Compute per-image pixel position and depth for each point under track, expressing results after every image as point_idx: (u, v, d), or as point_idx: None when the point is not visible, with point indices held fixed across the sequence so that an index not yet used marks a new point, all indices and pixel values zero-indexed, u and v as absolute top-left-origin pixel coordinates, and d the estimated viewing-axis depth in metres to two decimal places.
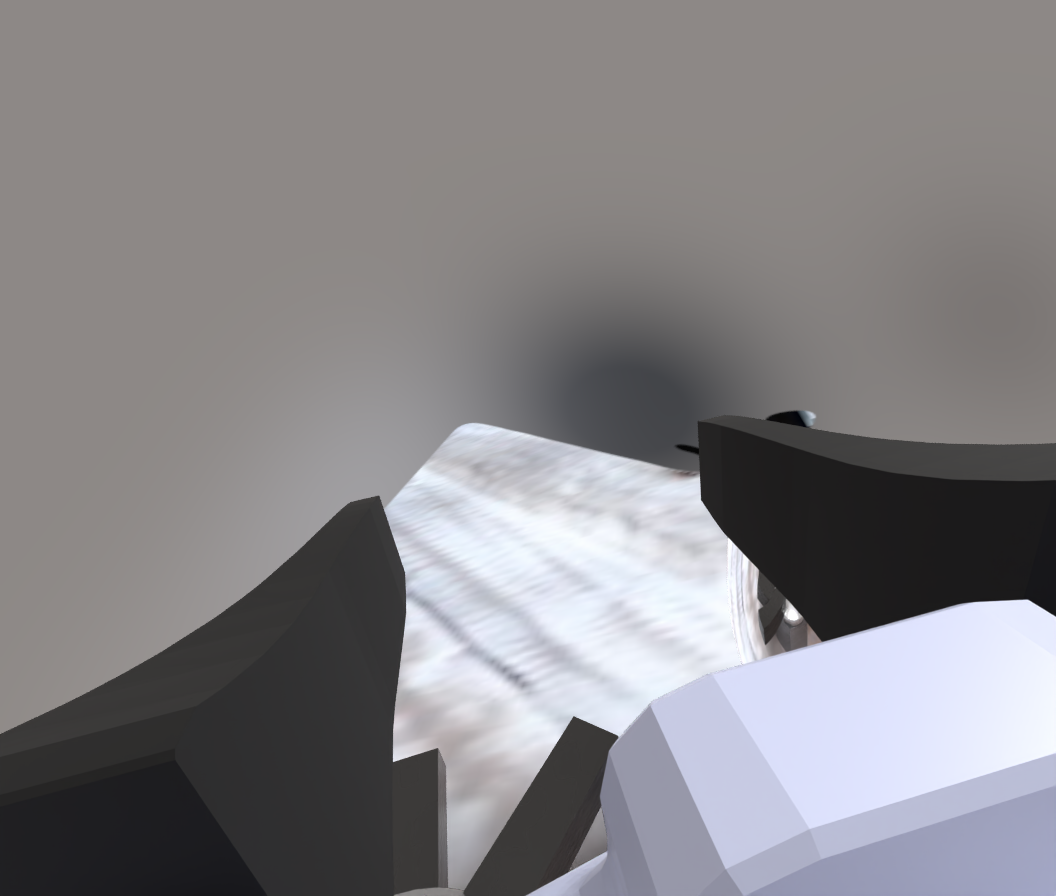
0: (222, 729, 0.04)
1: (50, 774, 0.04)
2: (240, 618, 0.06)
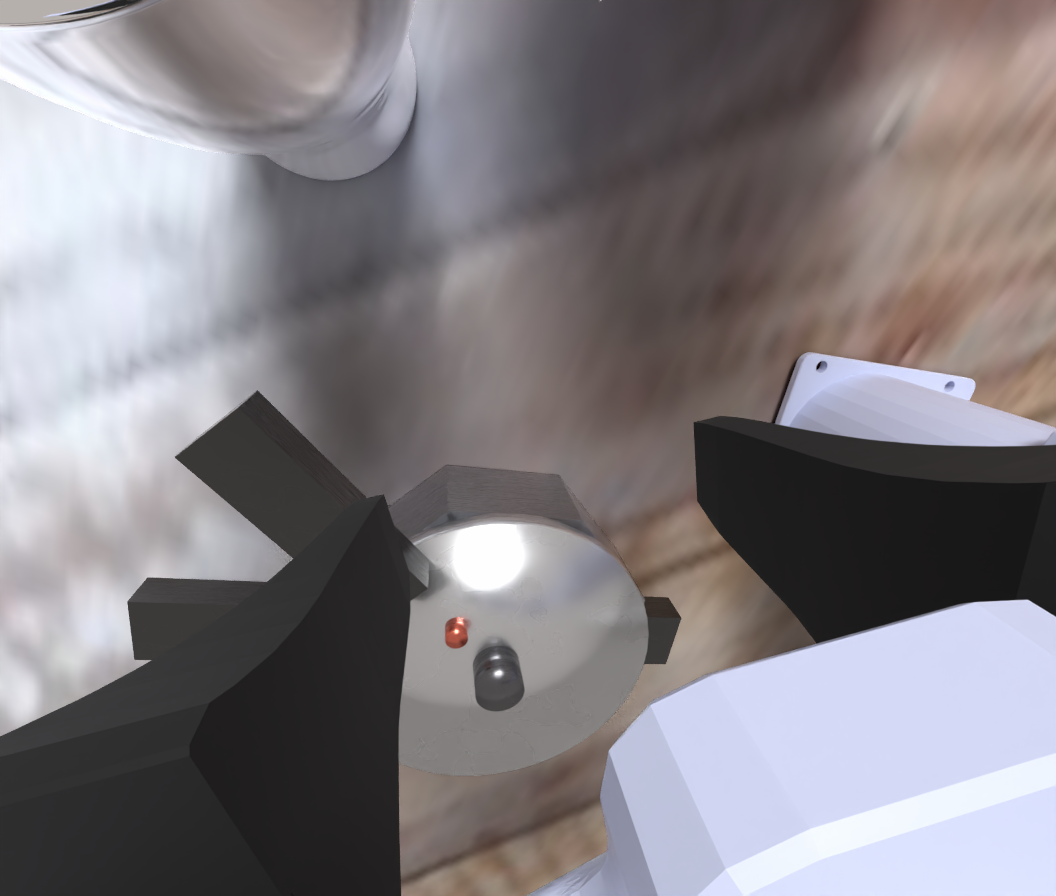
0: (234, 726, 0.04)
1: (64, 770, 0.04)
2: (248, 616, 0.06)
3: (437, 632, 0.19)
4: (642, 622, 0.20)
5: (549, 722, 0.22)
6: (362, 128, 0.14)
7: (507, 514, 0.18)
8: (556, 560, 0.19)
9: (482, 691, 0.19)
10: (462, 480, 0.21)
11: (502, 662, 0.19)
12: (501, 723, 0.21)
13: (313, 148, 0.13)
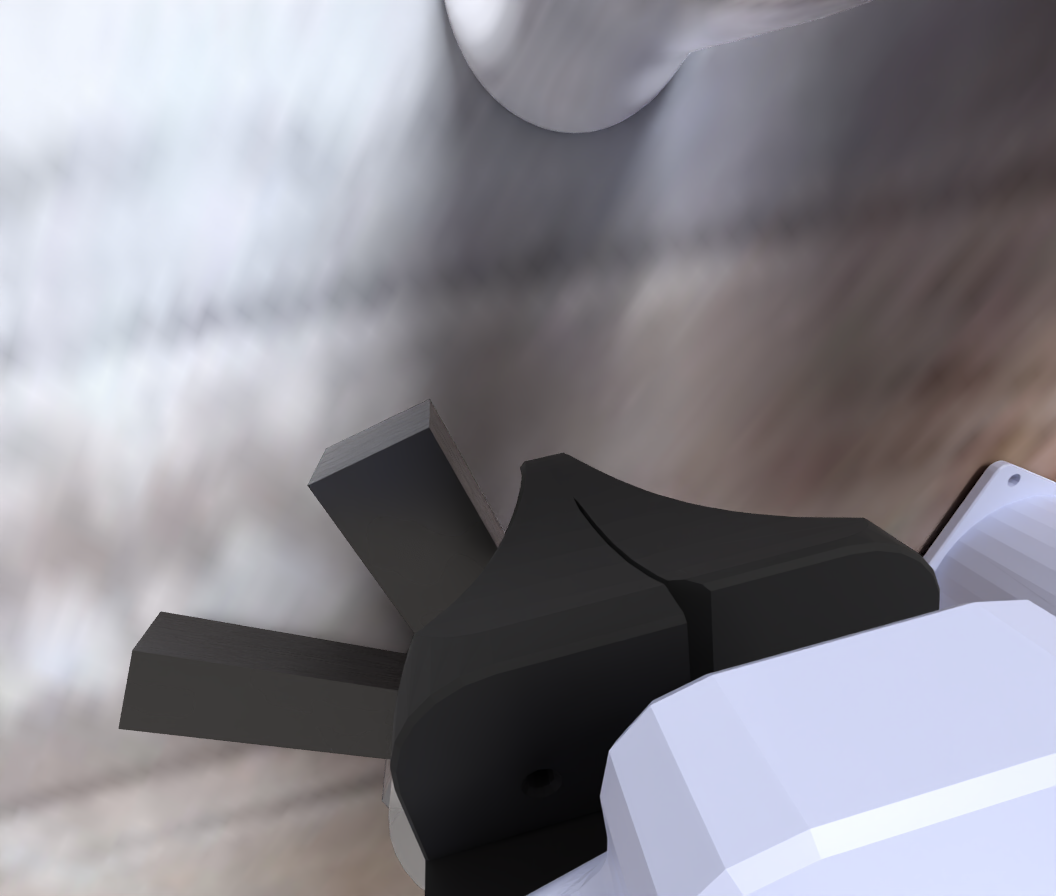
0: None
1: (567, 637, 0.04)
2: (534, 546, 0.07)
3: None
4: None
5: None
6: (683, 55, 0.09)
7: None
8: None
9: None
10: None
11: None
12: None
13: (617, 64, 0.09)
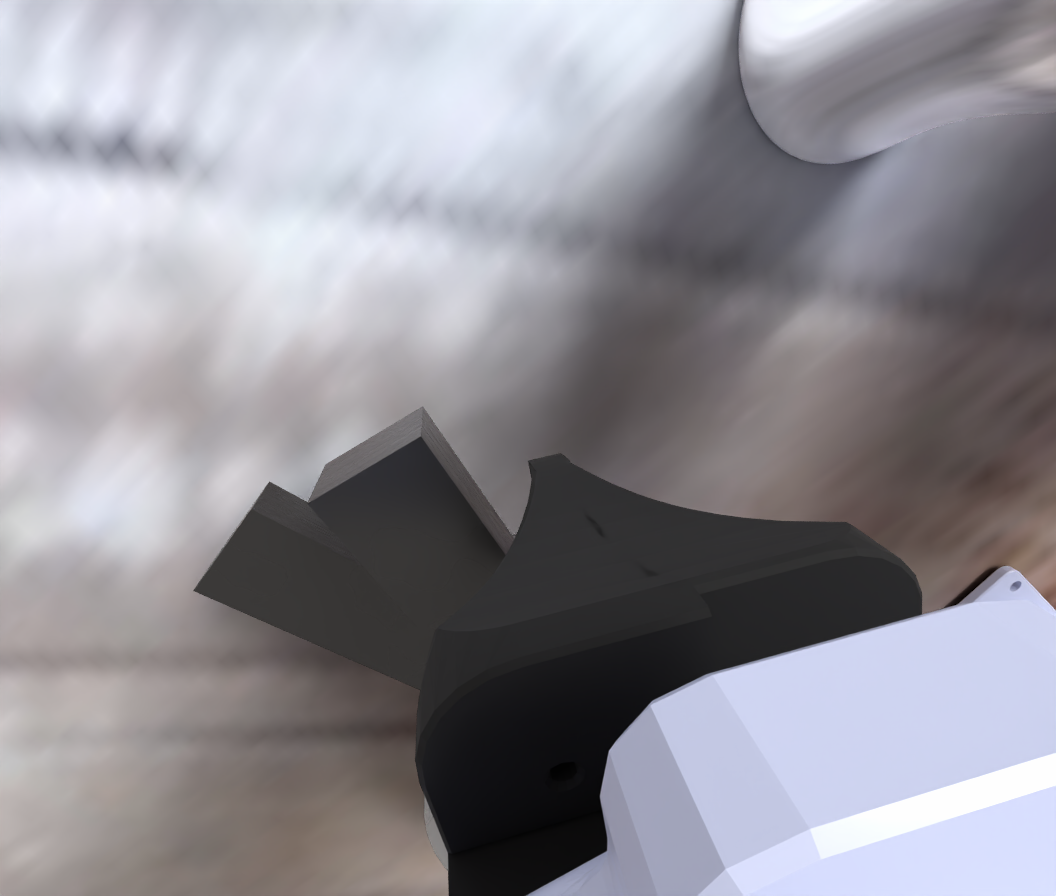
0: None
1: (592, 631, 0.04)
2: (549, 543, 0.07)
3: None
4: None
5: None
6: (972, 118, 0.11)
7: None
8: None
9: None
10: None
11: None
12: None
13: (932, 103, 0.10)
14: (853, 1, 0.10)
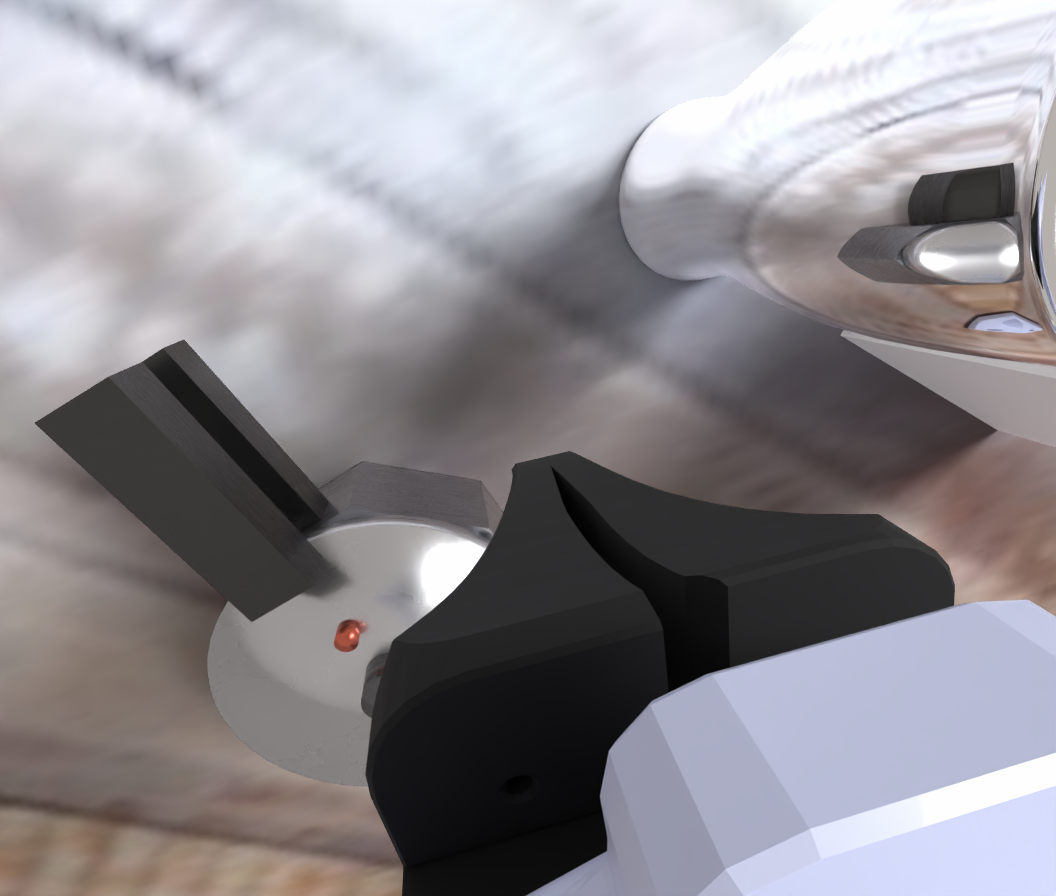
0: None
1: (543, 644, 0.04)
2: (520, 549, 0.07)
3: (329, 634, 0.18)
4: None
5: None
6: (723, 274, 0.17)
7: (412, 517, 0.18)
8: (459, 569, 0.18)
9: (368, 699, 0.18)
10: (491, 506, 0.21)
11: None
12: None
13: (696, 255, 0.16)
14: (668, 178, 0.16)
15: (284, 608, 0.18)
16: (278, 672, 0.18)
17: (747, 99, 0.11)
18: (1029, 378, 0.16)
